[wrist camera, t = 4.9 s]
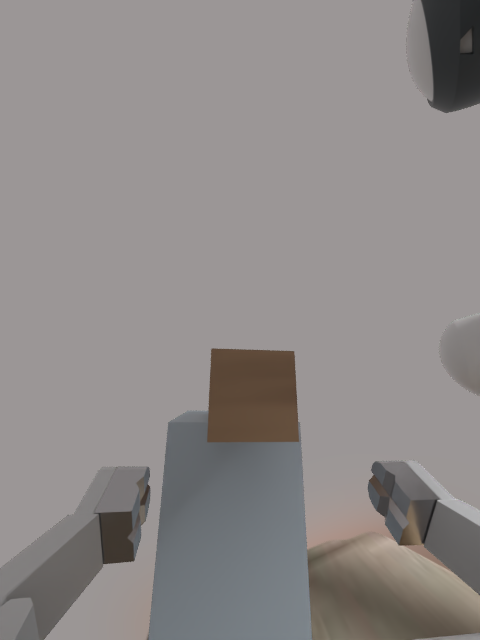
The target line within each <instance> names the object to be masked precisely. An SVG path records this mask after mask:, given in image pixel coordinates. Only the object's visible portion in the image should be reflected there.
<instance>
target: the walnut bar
mask: <svg viewBox="0 0 480 640" xmlns="http://www.w3.org/2000/svg"><path fill="white" fill-rule="evenodd" d="M207 442H299V431H298V413H297V394H296V375H295V356H294V351H270V350H239V349H237V350H236V349H212V350H211V372H210V392H209V412H208V433H207Z"/></svg>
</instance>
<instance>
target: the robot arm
mask: <svg viewBox="0 0 480 640" xmlns="http://www.w3.org/2000/svg"><path fill="white" fill-rule="evenodd" d="M406 53H407V61H408V67H409V71H410V73H411V76H412V79H413V81H414V83H415V85H416V86H417V88H418V89H419V91H420V92H421V93H422V94H423V95H424V96H425V97H426V98H427V100H428V103H429V104H430V106H431V107H433V108H435V109H438V110H440V111H442V112H445V113H448V112H453V111H457V110H461V109H464V108H468V107H471V106H474V105H476V104H479V103H480V0H413V3H412V7H411V11H410V16H409V21H408V28H407V38H406ZM439 352H440V358H441V362H442V364H443V366H444V368H445V370H446V371H447V373H448V374H449V375H450V376H451V377H452V378H453V380H455V381H456V382H457V383H458V384H459V385H461V386H462V387H463V388H465V389H466V390H468V391H470V392H472V393H474V394H476V395H478V396H480V313H478V314H474V315H471V316H468V317H464V318H461V319H458V320H455V321H452V322H451V324H450V325H449V326H448V327H447V328H446V329H445V331H444V333H443V335H442V337H441V340H440V346H439ZM371 471H372V473H373V474H374V476H373V477H372V478H371V479H370V480H369V484H368V492H369V497H370V500H371V502H372V504H373V506H374V508H375V509H376V511H377V512H379V513H380V514H381V515H383V516H384V517H385V525H386V526H387V528H388V529H389V531H390V533H391V534H392V536H393V537H394V539H395V540H396V542H397V543H398V545H424V547H425V548H426V549H427V550H428V551H429V552H430V553H432V554H433V555H434V556H435V557H436V558H437V559H439V560H440V561H441V562H442V563H443V564H444V565H445V566H447V567H448V568H449V569H450V570H451V571H452V572H454V573H455V574H456V575H457V576H458V577H459V578H460V579H462V580H463V581H464V582H465V583H466V584H467V585H469V586H470V587H471V588H472V589H473V590H474V591H475V592H477V593H478V594H479V595H480V510H478V509H476V508H474V507H472V506H470V505H469V504H467V503H465V502H464V501H462V500H460V499H455V498H453V496H452V495H451V494H450V493H449V492H447V490H445V488H444V487H443V486H442V485H441V484H440V483H439V482H437V481H436V480H435V479H434V478H433V477H432V476H431V475H430V474H429V473H428V472H427V471H426V470H425V469H424V468H423V467H422V466H421V465H420V464H419V463H418V462H416V461H414V460H404V461H403V460H402V461H376V462H374V463H373V465H372V469H371ZM149 477H150V470H149V467H102V468H101V469H100V470H99V471H98V473H97V474H96V476H95V478H94V479H93V481H92V483H91V485H90V486H89V488H88V490H87V492H86V494H85V495H84V497H83V499H82V500H81V502H80V504H79V506H78V508H77V509H76V511H75V513H74V514H73V515H67V516H66V517H65V518H64V519H62V520H61V521H60V522H59V523H57V524H56V525H55V526H53V527H52V528H51V529H50V530H48V531H47V532H46V533H44V534H43V535H42V536H41V537H39V538H38V539H37V540H36V541H34V542H33V543H32V544H31V545H29V546H28V547H27V548H25V549H24V550H23V551H22V552H20V553H19V554H18V555H17V556H15V557H14V558H13V559H11V560H10V561H9V562H8V563H6V564H5V565H4V566H3V567H1V568H0V640H44V639H45V638H46V636H47V635H48V634H49V633H50V631H51V630H52V629H53V628H54V626H55V625H56V624H57V623H58V622H59V620H60V619H61V618H62V617H63V615H64V614H65V613H66V612H67V610H68V609H69V608H70V607H71V605H72V604H73V603H74V602H75V601H76V599H77V598H78V597H79V596H80V594H81V593H82V592H83V591H84V589H85V588H86V587H87V585H89V583H90V582H91V581H92V580H93V578H94V577H95V576H96V574H97V573H98V572H99V571H100V570H101V569H102V567H103V564H108V563H109V564H110V563H121V562H131V561H134V560H135V556H136V553H137V549H138V546H139V542H140V539H141V525H142V524H143V523H144V522H145V521H146V517H147V513H148V508H149V502H150V486H149V485H148V480H149ZM414 640H480V633H474V634H464V635H454V636H444V637H434V638H424V639H414Z"/></svg>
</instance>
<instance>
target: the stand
mask: <svg viewBox="0 0 480 640" xmlns="http://www.w3.org/2000/svg"><path fill="white" fill-rule="evenodd" d="M208 412H209V411H187V412H185V413H183V414H182V415H180V416H178V417H177V418H175V419H173V420H171V421H170V422H169V423H168V432H167V443H166V454H165V465H164V475H163V486H162V497H161V508H160V519H159V529H158V540H157V551H156V562H155V573H154V584H153V594H152V606H151V617H150V627H149V638H148V640H312V631H311V613H310V595H309V577H308V559H307V542H306V523H305V506H304V487H303V470H302V452H301V434H300V423H299V422H298V431H299V442H207V433H208Z"/></svg>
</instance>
